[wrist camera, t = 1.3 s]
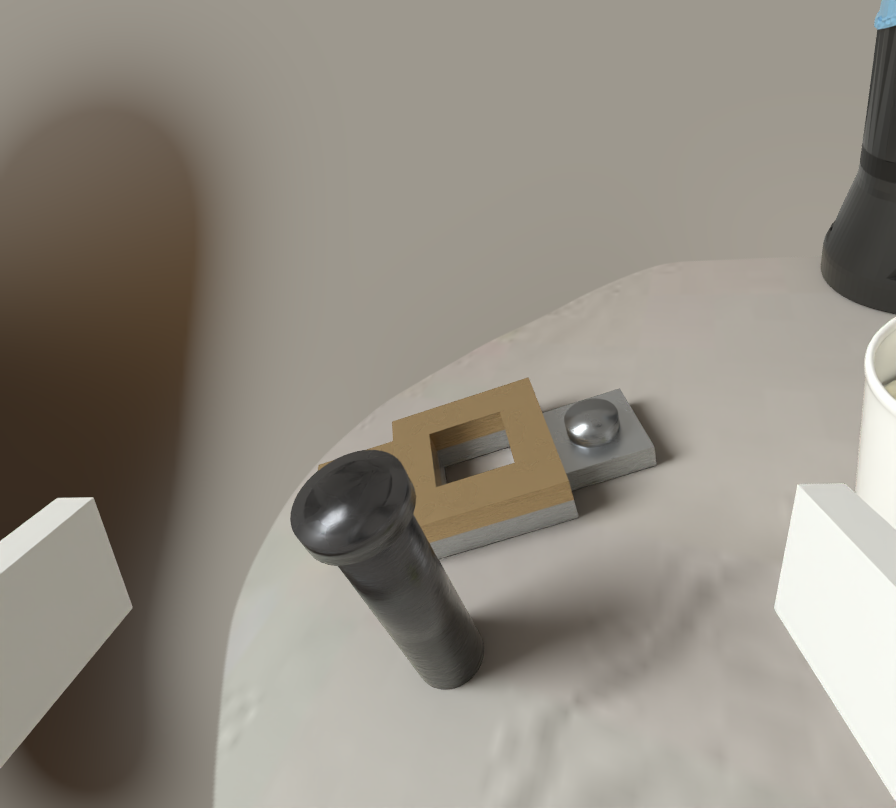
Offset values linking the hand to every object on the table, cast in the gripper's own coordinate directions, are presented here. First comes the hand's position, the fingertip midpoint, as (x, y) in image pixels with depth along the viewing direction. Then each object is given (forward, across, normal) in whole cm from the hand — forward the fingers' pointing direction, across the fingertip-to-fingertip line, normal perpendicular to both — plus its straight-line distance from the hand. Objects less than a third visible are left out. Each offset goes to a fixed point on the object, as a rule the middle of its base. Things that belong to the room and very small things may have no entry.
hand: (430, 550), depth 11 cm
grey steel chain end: (+27, +3, -14) cm, 31 cm away
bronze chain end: (+27, -3, -15) cm, 31 cm away
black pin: (+15, -2, -19) cm, 24 cm away
